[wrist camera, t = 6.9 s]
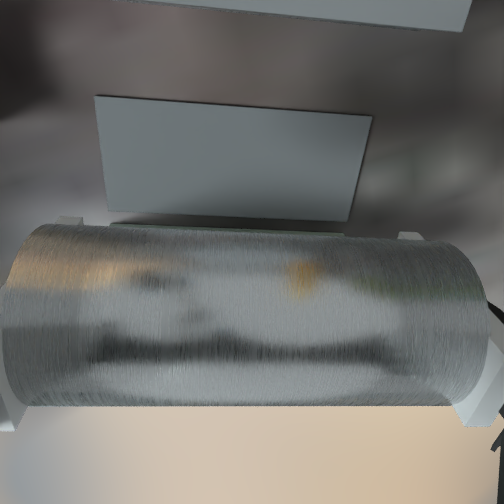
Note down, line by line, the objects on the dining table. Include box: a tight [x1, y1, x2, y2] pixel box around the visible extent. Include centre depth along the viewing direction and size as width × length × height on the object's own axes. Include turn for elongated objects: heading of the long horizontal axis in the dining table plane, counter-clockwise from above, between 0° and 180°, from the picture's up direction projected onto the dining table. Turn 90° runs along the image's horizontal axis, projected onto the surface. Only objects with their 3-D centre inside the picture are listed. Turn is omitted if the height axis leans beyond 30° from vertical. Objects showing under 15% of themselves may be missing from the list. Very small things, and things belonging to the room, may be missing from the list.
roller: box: [0, 224, 491, 407], centre depth 12 cm, size 5×12×5 cm, turn 85°
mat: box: [94, 96, 372, 222], centre depth 24 cm, size 7×16×1 cm, turn 85°
